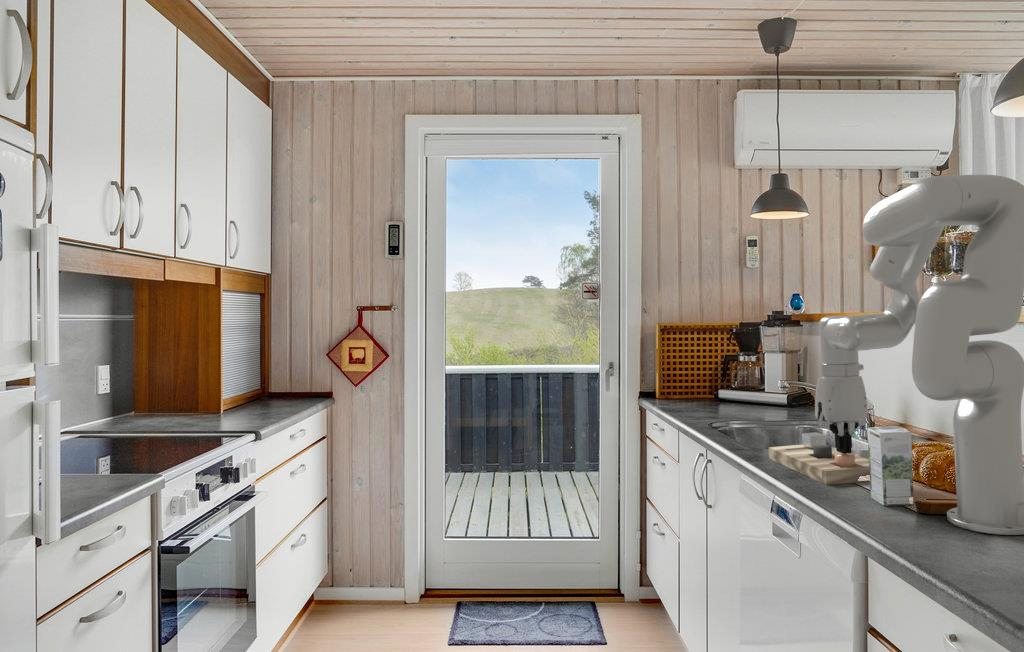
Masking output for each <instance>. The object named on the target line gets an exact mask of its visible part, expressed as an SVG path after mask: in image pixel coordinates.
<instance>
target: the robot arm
mask: <svg viewBox="0 0 1024 652" xmlns="http://www.w3.org/2000/svg"><path fill="white" fill-rule="evenodd" d="M862 221H863V222H862V234H863V238H864V240H865V241H866V242H867V243H868V244H870V245H872V246H874V247H879V248H878V250H877V251H876V254H875V256H874V259H873V260H872V262H871V264H870V267H869V273H870V275H871V277H872V279H874V280H875V281H876V282H877V283H879V284H881V285H883V286H885V287H886V288H889V289H891V290H892V291H891V292H892V293H891V298H890V299H889V303H887V306H886V308H885V310H884V311H883V312H882V313H880V312H878V313H869V314H868V313H867V314H858V315H857V314H856V315H831V316H830V315H829V316H828V315H827V316H824V317H822V318H820V319H819V325H818V326H819V327H818V328H819V349H820V366H821V367H820V369H821V370H820V371H821V376H819V377H818V378H817V380H816V381H817V382H816V387H815V398H814V415H815V418H816V419H817V420H818V427H819V428H823V429H829V431H830V432H831V433H832V434H833V435H834V445H835V446H834V448H836V450H837V451H838V452H840V453H843V454H847V453H852V449H853V439H852V436H854V435H855V431H857V428H858V427H861V426H864V425H866V424H867V421H868V420H867V418H868V411H869V410H868V400H867V393H866V389H865V383H864V380H863V377H862V376H861V375H860V373H861V372H860V371H864V368H865V367H864V365H863V364H861V363H860V362H859V351H870V350H882V349H891V348H894V347H897V346H898V345H900V344H902V342H904V341H905V339H906V338H907V337H908V335H909V334H910V332H911V330H912V329H913V326H914V333H913V346H912V355H911V356H912V357H911V374H912V379H913V382H914V384H915V387H916V388H917V390H918V391H919V392H920V393H921V394H922V395H924V396H925V397H926V398H928V399H930V400H933V401H941V402H942V401H943V402H946V401H956V400H957V403H956V406H955V408H954V410H953V412H954V413H953V416H952V417H953V418H952V432H953V452H954V453H953V454H954V471H955V474H954V475H955V488H956V490H955V491H956V507H952V508H950V509H949V510H947V511H946V518H947V520H948V521H949V522H950V523H951V524H952V525H955V526H957V527H959V528H962V529H964V530H965V529H966V530H969V531H973V532H978V533H983V534H984V533H985V534H988V535H989V534H992V535H1000V536H1001V535H1004V536H1018V535H1019V536H1020V535H1024V462H1023V460H1024V459H1023V445H1022V442H1023V441H1022V434H1023V433H1022V403H1023V402H1022V400H1023V393H1024V358H1023V356H1022V355H1021V353H1020V352H1019V351H1018V350H1017V349H1016V348H1014V347H1013V346H1012V345H1010V344H1009V343H1005V342H1002V341H997V340H988V339H987V340H986V339H985V340H982V339H981V340H974V341H973V340H972V341H970V338H971V337H972V336H981V335H983V336H984V335H991V334H992V335H993V334H1000V333H1004V332H1007V331H1010V330H1011V329H1013V328H1014V327H1015V326H1016V325H1017V324H1018V323H1019V321H1020V318H1021V315H1022V310H1023V309H1022V308H1023V304H1024V303H1023V301H1024V184H1022V183H1021V182H1019V181H1017V180H1015V179H1013V178H1011V177H1008V176H1007V177H1006V176H1003V175H997V174H996V175H995V174H963V175H959V174H958V175H956V174H954V175H952V174H951V175H935V176H929V177H925V178H923V179H920V180H917V181H915V182H914V183H911V184H910V185H907V186H906V187H904V188H902V189H901V190H898V191H896V192H894V193H892V194H891V195H889V196H886V197H885V198H883V199H881V200H879V201H878V202H876V203H875V204H874V205H873V206H872V207H871V208H870V209H869V210H868V212H867V213H866V215H865V216H864V219H863V220H862ZM953 226H955V227H956V226H976V227H978V229H977V231H976V232H975V234H973V236H972V238H971V239H970V241H969V243H968V245H967V247H966V249H965V253H964V258H963V269H962V274H961V277H960V279H950V280H944V281H940V282H937V283H934V284H933V285H931V286H930V287H929V288H928V289H926V291H924V293H923V294H922V295H921V297H920V292H919V291H918V287H917V284H916V282H917V281H918V278H919V276H920V275H921V273H922V271H923V269H924V266H925V265H926V263H927V261H928V259H929V258H930V255H931V254H932V252H933V250H934V248H935V246H936V245H937V242H938V241H939V239H940V237H941V235H942V233H943V230H944V229H945V227H953Z"/></svg>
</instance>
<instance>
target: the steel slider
mask: <svg viewBox="0 0 1024 652" xmlns="http://www.w3.org/2000/svg"><path fill="white" fill-rule="evenodd" d="M826 436H827V435H826V434H824V433H820V432H817V431H816V432H804V433H803V432H802V433H801V445H803V446H806V447H809V448H813V446H815V445H827V438H826Z"/></svg>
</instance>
